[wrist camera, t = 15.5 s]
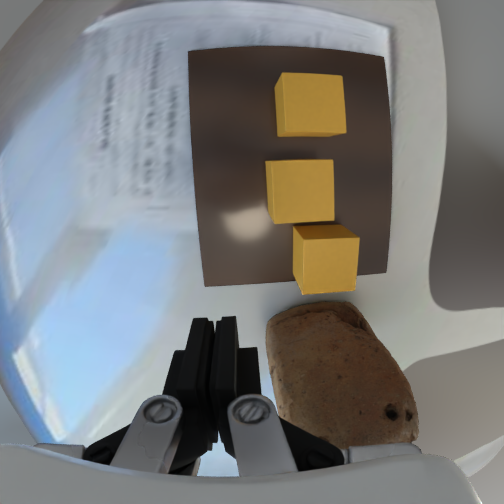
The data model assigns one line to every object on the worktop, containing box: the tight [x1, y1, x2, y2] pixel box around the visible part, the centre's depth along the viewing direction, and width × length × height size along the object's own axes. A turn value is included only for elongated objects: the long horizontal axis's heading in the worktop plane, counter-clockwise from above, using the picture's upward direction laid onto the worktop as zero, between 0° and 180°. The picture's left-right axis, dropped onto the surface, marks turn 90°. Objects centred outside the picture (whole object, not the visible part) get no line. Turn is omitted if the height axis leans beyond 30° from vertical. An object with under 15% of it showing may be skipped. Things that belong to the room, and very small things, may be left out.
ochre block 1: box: [275, 73, 346, 137], centre depth 23 cm, size 5×5×5 cm
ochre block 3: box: [293, 225, 360, 295], centre depth 27 cm, size 5×5×5 cm
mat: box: [188, 46, 392, 287], centre depth 27 cm, size 24×20×1 cm
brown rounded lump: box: [266, 301, 419, 449], centre depth 23 cm, size 11×8×20 cm
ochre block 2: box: [265, 159, 334, 224], centre depth 25 cm, size 5×5×5 cm
